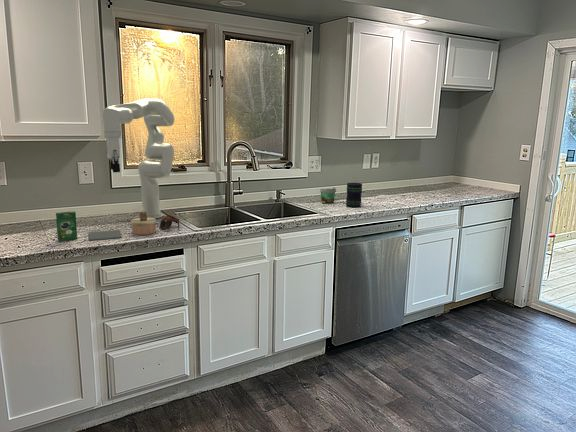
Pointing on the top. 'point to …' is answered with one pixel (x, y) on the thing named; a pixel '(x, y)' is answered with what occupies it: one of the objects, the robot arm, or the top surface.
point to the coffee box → (66, 226)
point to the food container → (327, 196)
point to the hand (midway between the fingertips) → (115, 170)
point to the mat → (104, 235)
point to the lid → (143, 220)
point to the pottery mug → (168, 221)
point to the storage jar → (354, 195)
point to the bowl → (144, 229)
